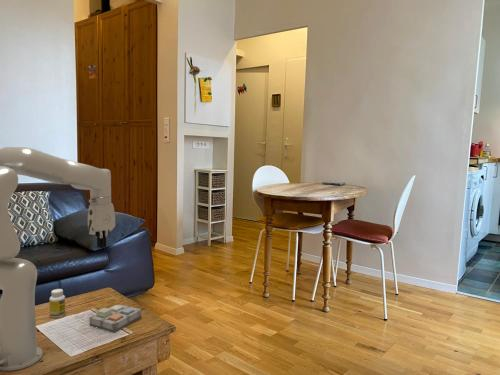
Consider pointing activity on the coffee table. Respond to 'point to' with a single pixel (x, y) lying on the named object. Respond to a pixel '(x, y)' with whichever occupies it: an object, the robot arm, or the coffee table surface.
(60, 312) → the supplement bottle
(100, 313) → the key sage
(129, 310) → the key slate
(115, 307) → the key ivory
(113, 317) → the key terracotta
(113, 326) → the keypad
